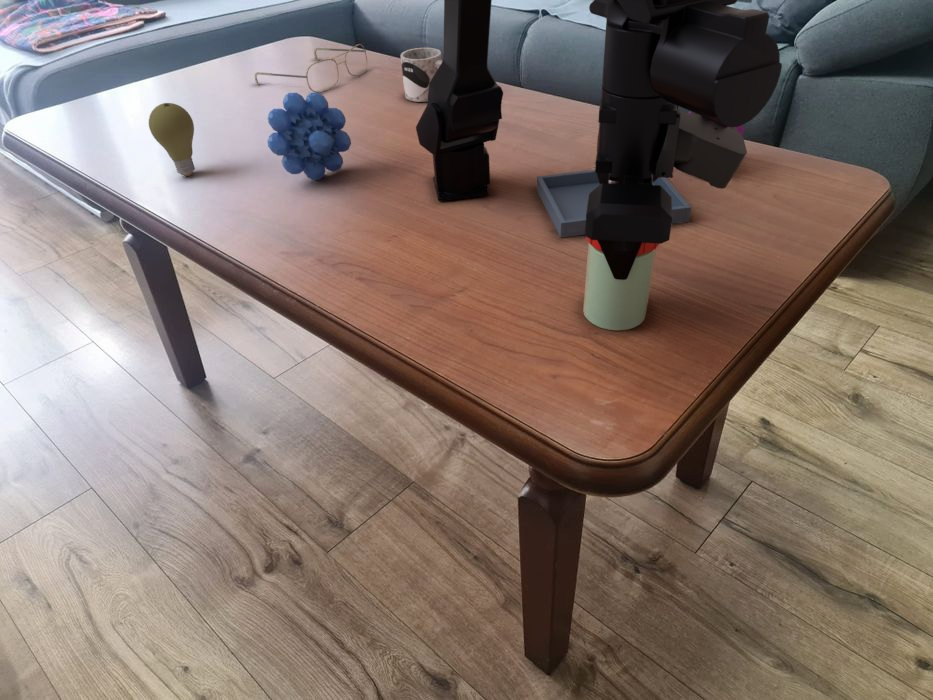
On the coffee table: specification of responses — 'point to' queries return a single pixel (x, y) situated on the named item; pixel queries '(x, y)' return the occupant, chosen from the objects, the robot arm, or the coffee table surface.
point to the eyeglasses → (318, 62)
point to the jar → (617, 292)
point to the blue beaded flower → (308, 135)
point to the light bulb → (174, 134)
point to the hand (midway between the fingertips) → (621, 259)
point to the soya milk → (419, 71)
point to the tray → (571, 195)
